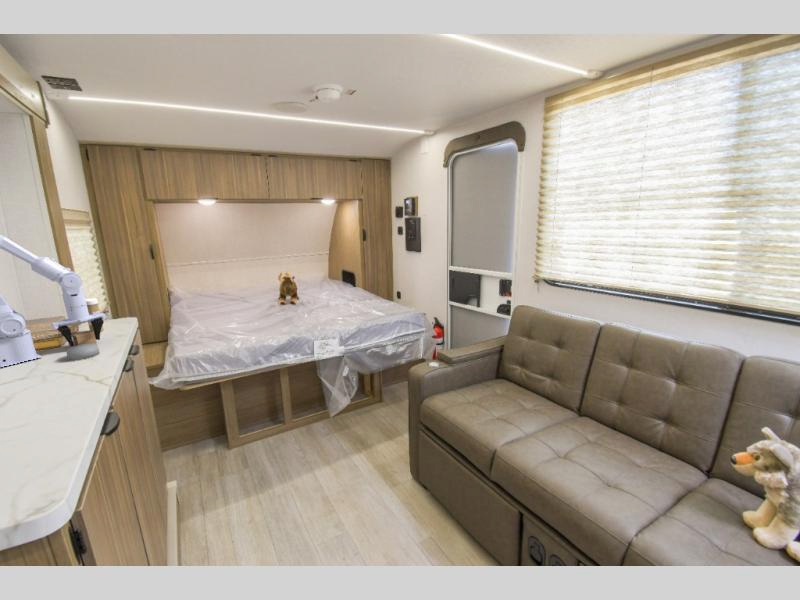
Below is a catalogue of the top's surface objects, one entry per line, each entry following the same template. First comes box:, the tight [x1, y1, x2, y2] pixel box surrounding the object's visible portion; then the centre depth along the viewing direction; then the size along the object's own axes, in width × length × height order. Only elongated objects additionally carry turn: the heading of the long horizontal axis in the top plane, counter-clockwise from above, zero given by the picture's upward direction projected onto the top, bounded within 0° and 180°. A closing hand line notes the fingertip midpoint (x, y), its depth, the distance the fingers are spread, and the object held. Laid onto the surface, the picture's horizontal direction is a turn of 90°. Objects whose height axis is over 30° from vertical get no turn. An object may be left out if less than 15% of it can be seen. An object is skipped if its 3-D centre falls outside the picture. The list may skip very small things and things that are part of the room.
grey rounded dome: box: [65, 343, 100, 361], centre depth 122 cm, size 8×8×3 cm
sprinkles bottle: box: [85, 297, 104, 332], centre depth 147 cm, size 5×5×14 cm
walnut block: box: [71, 330, 98, 347], centre depth 131 cm, size 5×5×5 cm
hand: (85, 342), depth 131 cm, fingers open, 7 cm apart
